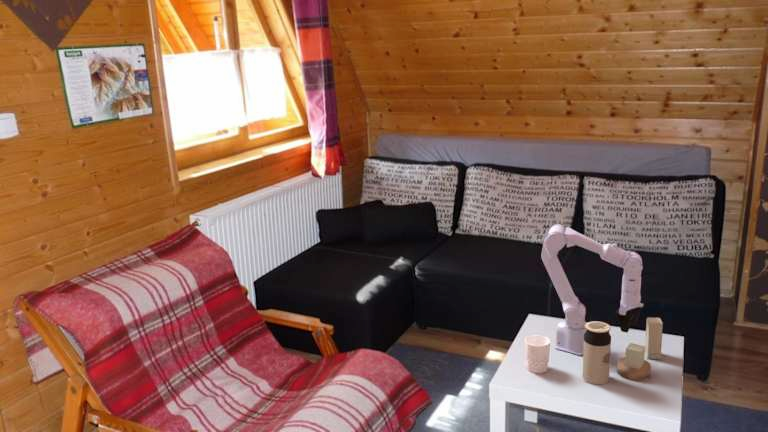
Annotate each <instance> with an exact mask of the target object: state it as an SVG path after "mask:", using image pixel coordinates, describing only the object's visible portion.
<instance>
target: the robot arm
mask: <svg viewBox="0 0 768 432" xmlns="http://www.w3.org/2000/svg"><path fill="white" fill-rule="evenodd" d="M565 246H566V248H570V247H575V246H577V247H580V248H583V249H585V250H587V251H590V252H593V253H596V254H598V255H599V257H600V259H601V260H603V261H605V262H608V263H610V264H612V265H614V266H616V267H618V268H623V273H622V274H623V275H622V279H621V281H622V282H621V297H620V298H621V299H620V302H619V303H620V304H619V305H620V307H619V309H616V310H615V316H616V318H617V319H618V323H619V327H620V328H619V329H620V332H623V333H626V334H627V333H628V332H629V331H630V326H631V324H632V325H637V323H638V320H639V316H640V313H641V312H642V310H643V308H644V307H645V304H644V303H642V302H641V301H642V299H641V298H642V295H641V287H642V276H641V275H642V271H643V268H644V266H643V260H642V259H643V258H642V257H641V255H640V254H638V253H637V252H636V251H631V250H626V249H624V248H621V247H618V244H616V243H614V242H613V243H605V244H603V243H601V242H598V241H596V240H594V239H592V238H590V237H588V236H586V235H585V234H583V233H580V232H578V231H576V230H574V229H573V228H571V227H568V226H564V225H562V224H559V223H557V224H553V225H552V226H550V228H549V229H548V231H547V233H546V234H545V237H544V240H543V244H542V247H541V248H542V249H541V255H540V256H541V257H540V258H541V260H542V263H543V266H544V267H545V269H546V272H547V273H548V275H549V277H550V280H551V282H552V284H553V287H554V288H555V290H556V293H557V295H558V297H559V299H560V302H561V304H562V305H561V306H562V309H563V313H564V315H565V318H564V321H563V320H561V321H560V322H559V323H558V324H557V326H556V333H555V335H556V337H555V338H556V339H555V347H554V348H555V349H557V350H560V351H563V352H566V353H570V354H574V355H578V356H583V349H584V333H585V332H586V327H585V325H586V324H587V322H586V320H585V319H586V314H587V309H586V306H585V305H584V304H583V303H581V302H580V300H579V297H577V296H576V295H575V292H574V291H573V287H572V286H571V284H570V282H569V280H568V277H567V275H566V273H565V270H564V269H563V266H562V263H561V262H560V260H559V258H558V254H559V251H561V250H562V249H563V248H564V247H565Z"/></svg>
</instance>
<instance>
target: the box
mask: <svg viewBox="0 0 768 432" xmlns="http://www.w3.org/2000/svg"><path fill="white" fill-rule="evenodd" d="M645 325H646V326H645V340H644V341H645V343H644V344H645V345H644V346H645V357H646V358H647V359H650V360H651V359H653V360H661V358H662V343H663V325H664V323H663V321H662V319H661V318H660V317H650V316H649V317H646V323H645Z"/></svg>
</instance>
